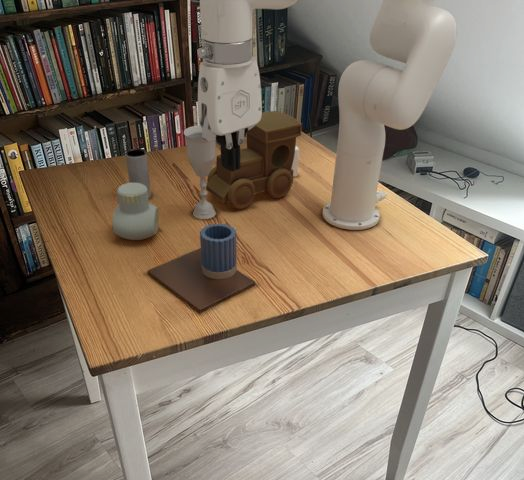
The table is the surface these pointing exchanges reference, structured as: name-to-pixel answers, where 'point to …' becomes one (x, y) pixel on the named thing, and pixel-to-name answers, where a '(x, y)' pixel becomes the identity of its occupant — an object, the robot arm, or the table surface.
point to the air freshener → (135, 213)
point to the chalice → (201, 166)
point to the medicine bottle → (295, 162)
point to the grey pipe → (138, 168)
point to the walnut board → (198, 282)
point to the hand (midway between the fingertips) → (230, 167)
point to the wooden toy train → (259, 162)
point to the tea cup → (218, 251)
